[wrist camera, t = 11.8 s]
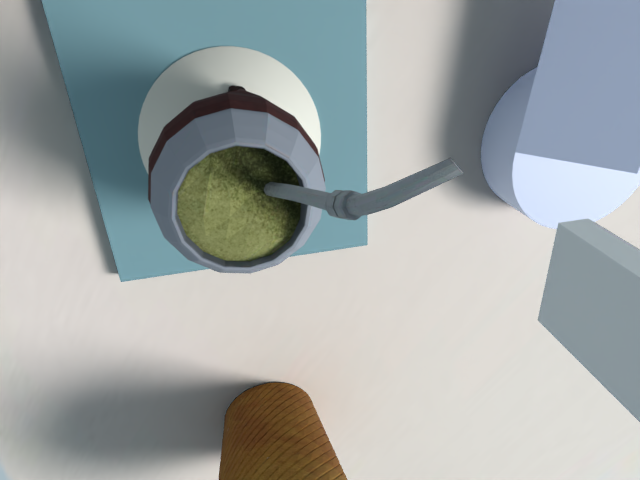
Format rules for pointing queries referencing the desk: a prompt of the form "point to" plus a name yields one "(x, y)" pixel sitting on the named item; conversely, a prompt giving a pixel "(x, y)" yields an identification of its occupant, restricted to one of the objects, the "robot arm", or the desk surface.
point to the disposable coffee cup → (276, 437)
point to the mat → (202, 82)
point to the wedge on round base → (571, 118)
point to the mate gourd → (252, 184)
